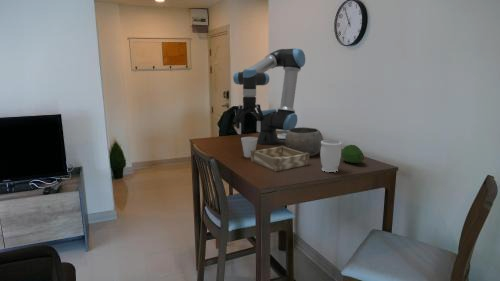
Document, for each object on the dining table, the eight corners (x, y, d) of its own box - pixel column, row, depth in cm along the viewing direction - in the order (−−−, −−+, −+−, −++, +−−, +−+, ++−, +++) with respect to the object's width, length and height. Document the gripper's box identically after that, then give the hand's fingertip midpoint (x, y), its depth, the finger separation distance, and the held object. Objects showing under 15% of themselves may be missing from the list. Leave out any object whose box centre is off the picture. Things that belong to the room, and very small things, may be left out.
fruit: (368, 166, 185) (369, 148, 183) (351, 167, 182) (353, 149, 180) (352, 159, 199) (354, 142, 197) (337, 160, 197) (338, 143, 195)
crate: (282, 155, 206) (282, 145, 204) (309, 164, 187) (309, 153, 186) (250, 161, 193) (250, 150, 192) (275, 171, 175) (276, 159, 173)
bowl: (280, 150, 220) (280, 126, 217) (313, 148, 225) (314, 125, 222) (291, 159, 198) (292, 133, 195) (328, 157, 203) (330, 132, 200)
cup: (256, 159, 198) (256, 140, 196) (239, 158, 200) (239, 139, 198) (259, 154, 208) (259, 137, 205) (243, 154, 210) (242, 136, 207)
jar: (317, 167, 182) (318, 139, 178) (336, 167, 182) (337, 139, 179) (322, 173, 171) (324, 144, 168) (343, 173, 172) (344, 144, 169)
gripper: (263, 95, 206) (262, 130, 211) (227, 96, 193) (227, 133, 197) (270, 96, 200) (270, 132, 204) (234, 97, 187) (234, 135, 191)
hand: (249, 133), depth 201 cm, fingers open, 13 cm apart
